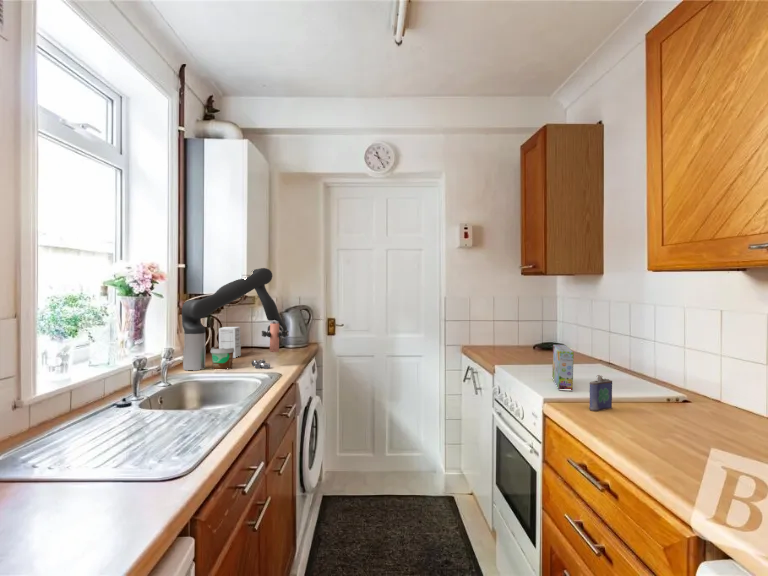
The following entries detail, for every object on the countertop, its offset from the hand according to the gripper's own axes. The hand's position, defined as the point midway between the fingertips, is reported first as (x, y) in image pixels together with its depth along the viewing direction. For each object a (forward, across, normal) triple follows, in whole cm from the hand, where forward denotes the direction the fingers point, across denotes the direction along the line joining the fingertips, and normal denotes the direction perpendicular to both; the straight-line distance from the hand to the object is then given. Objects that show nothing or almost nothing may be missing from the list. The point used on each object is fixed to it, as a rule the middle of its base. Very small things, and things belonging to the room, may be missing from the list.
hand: (274, 335), depth 202 cm
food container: (-1, -25, +16) cm, 30 cm away
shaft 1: (-7, -8, +16) cm, 19 cm away
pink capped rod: (-3, 0, +8) cm, 9 cm away
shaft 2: (+1, -5, +16) cm, 17 cm away
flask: (+96, +106, +15) cm, 143 cm away
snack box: (+64, +115, +15) cm, 132 cm away
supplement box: (-37, -26, +16) cm, 48 cm away
